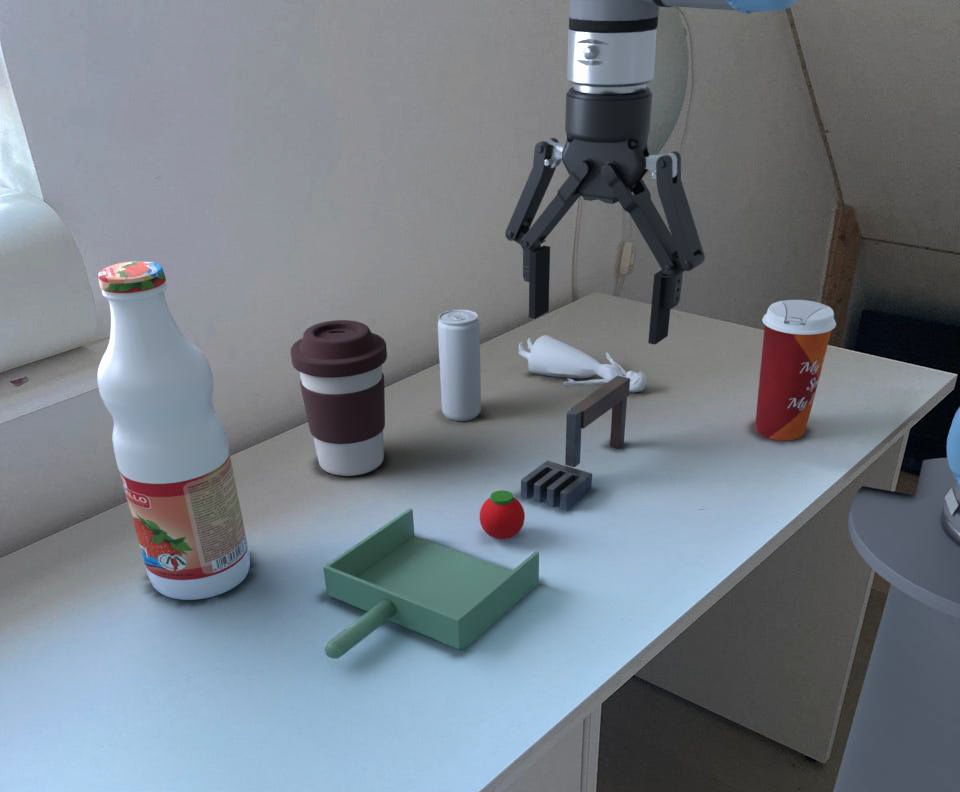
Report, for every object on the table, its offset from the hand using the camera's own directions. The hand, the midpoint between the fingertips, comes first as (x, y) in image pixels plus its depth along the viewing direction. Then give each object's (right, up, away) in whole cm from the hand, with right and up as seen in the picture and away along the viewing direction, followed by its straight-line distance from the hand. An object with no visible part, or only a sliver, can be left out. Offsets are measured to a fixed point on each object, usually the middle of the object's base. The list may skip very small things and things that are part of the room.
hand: (596, 327), depth 98 cm
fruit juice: (-38, -25, -6) cm, 46 cm away
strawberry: (-10, -19, -3) cm, 22 cm away
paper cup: (+23, -7, +15) cm, 29 cm away
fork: (0, -13, +8) cm, 16 cm away
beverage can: (-14, -4, +21) cm, 26 cm away
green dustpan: (-18, -29, -12) cm, 36 cm away
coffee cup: (-26, -12, +11) cm, 31 cm away
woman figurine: (+2, +2, +29) cm, 29 cm away
